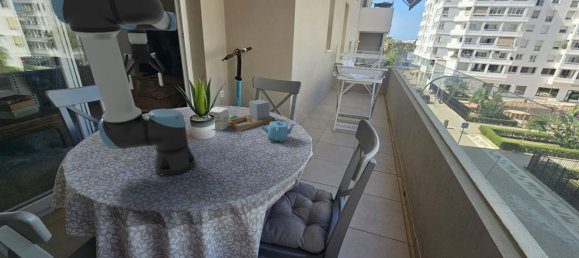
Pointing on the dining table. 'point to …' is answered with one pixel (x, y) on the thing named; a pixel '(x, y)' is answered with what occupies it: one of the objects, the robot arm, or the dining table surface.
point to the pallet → (252, 122)
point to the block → (259, 109)
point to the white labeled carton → (220, 117)
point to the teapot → (278, 131)
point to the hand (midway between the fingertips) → (147, 87)
